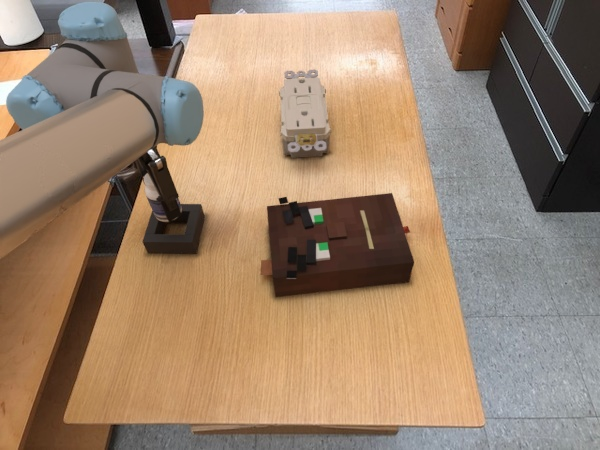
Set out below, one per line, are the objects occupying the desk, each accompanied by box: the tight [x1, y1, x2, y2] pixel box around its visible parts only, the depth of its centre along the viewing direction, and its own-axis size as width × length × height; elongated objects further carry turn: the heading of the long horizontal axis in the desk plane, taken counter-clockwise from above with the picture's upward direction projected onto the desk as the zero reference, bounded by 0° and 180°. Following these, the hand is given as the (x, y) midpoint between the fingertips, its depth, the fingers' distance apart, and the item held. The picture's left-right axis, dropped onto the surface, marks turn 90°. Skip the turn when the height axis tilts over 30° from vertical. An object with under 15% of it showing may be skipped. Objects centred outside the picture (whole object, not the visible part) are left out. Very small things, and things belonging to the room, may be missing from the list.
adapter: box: [141, 203, 206, 255], centre depth 92 cm, size 10×10×4 cm
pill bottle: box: [143, 173, 182, 222], centre depth 84 cm, size 5×5×10 cm
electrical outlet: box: [278, 68, 332, 159], centre depth 109 cm, size 12×28×10 cm, turn 3°
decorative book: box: [260, 192, 415, 298], centre depth 86 cm, size 19×8×30 cm
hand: (166, 207), depth 87 cm, fingers closed on pill bottle, 5 cm apart
